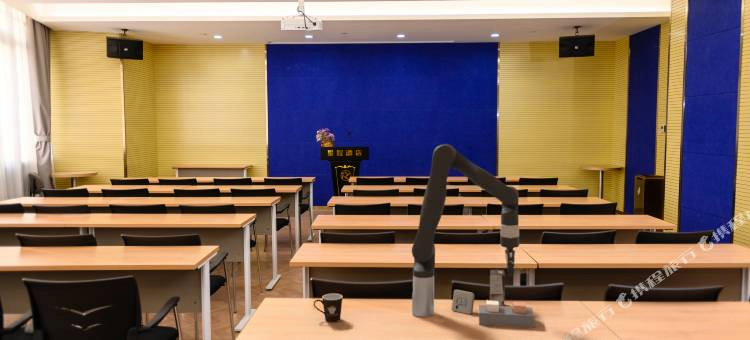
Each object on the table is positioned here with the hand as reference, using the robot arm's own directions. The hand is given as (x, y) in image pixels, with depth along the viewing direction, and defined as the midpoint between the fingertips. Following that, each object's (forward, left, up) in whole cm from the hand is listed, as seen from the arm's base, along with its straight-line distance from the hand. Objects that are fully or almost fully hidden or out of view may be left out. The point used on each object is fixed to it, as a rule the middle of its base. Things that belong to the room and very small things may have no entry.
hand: (510, 273), depth 235 cm
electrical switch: (-20, +10, -21) cm, 30 cm away
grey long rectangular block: (-2, -1, -21) cm, 21 cm away
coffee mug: (-76, -9, -21) cm, 79 cm away
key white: (-7, -1, -18) cm, 19 cm away
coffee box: (-5, +18, -21) cm, 28 cm away
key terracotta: (+4, -1, -18) cm, 18 cm away
